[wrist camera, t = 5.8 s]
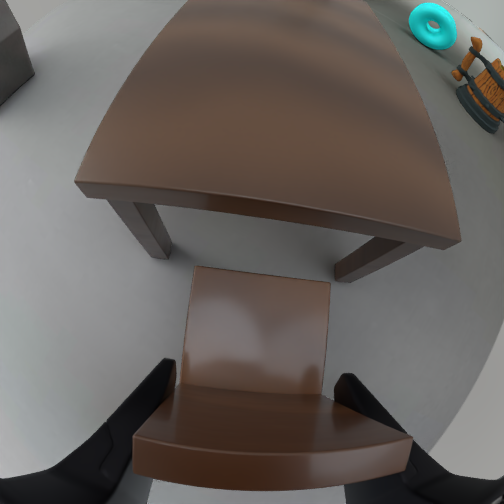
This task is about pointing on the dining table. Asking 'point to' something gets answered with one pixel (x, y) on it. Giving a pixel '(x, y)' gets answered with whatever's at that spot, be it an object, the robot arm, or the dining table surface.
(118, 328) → the dining table surface
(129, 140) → the side table
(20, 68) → the grey hexagonal prism
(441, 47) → the donuts
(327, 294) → the chair
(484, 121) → the mug
